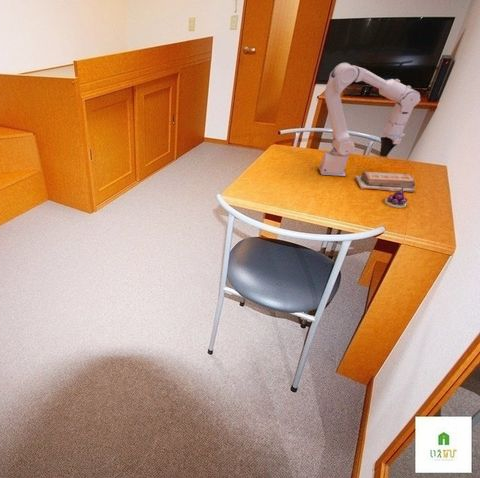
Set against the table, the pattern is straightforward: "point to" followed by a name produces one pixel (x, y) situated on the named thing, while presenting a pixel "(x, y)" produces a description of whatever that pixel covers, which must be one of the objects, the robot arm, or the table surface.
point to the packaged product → (386, 181)
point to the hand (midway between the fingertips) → (383, 155)
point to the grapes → (397, 199)
